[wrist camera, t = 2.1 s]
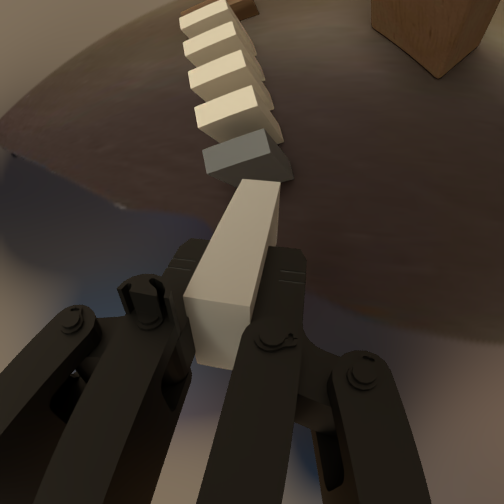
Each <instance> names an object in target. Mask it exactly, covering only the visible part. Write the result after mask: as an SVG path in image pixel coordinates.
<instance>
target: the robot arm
mask: <svg viewBox="0 0 504 504" xmlns="http://www.w3.org/2000/svg"><path fill="white" fill-rule="evenodd" d="M280 183H281V182H273V181H262V180H250V179H242V181H241V183H240V184H239V186H238V188H237V190H236V192H235V194H234V196H233V198H232V199H231V201H230V203H229V205H228V207H227V209H226V211H225V213H224V215H223V217H222V219H221V221H220V223H219V224H218V226H217V228H216V230H215V232H214V234H213V236H212V238H211V240H202V239H193V238H191V239H189V240H188V241H187V242H186V243H184V244H183V245H182V246H180V247H179V249H178V251H177V252H176V254H175V255H174V257H173V259H172V260H171V262H170V263H169V265H168V268H167V269H166V270H165V272H164V273H163V275H162V277H161V276H157V275H154V274H141V275H137V276H134V277H131V278H129V279H127V280H126V281H124V282H123V283H122V284H121V285H120V286H119V287H118V288H117V291H118V293H119V296H120V298H121V302H122V304H123V307H124V310H125V312H126V315H125V316H121V317H108V318H96V316H95V314H94V312H93V311H92V310H91V309H90V308H89V307H87V306H84V305H73V306H70V307H67V308H65V309H64V310H62V311H61V312H60V313H58V314H57V315H56V316H55V317H54V318H53V319H52V320H51V321H50V322H49V323H48V324H47V325H46V326H45V327H44V328H43V329H42V330H41V331H40V332H39V333H38V334H37V335H36V336H35V337H34V338H33V339H32V340H31V341H30V342H29V343H28V344H27V345H26V346H25V348H23V350H22V351H21V352H20V353H19V354H18V355H17V356H16V357H15V358H14V359H13V360H12V361H11V363H9V365H8V366H7V367H6V368H5V369H4V370H3V371H2V372H1V373H0V504H151V501H152V497H153V494H154V491H155V488H156V485H157V482H158V479H159V476H160V473H161V469H162V467H163V464H164V461H165V458H166V455H167V452H168V449H169V445H170V442H171V439H172V436H173V433H174V430H175V427H176V425H177V422H178V419H179V415H180V413H181V410H182V407H183V404H184V401H185V398H186V395H187V392H188V389H189V386H190V383H191V379H192V372H191V368H190V366H191V363H192V361H193V358H194V355H195V356H196V360H197V363H198V364H202V365H207V366H212V367H217V368H223V369H228V370H232V374H231V378H230V381H229V386H228V389H227V393H226V396H225V400H224V404H223V408H222V411H221V415H220V419H219V422H218V426H217V430H216V433H215V437H214V441H213V445H212V449H211V452H210V455H209V459H208V463H207V466H206V470H205V473H204V477H203V481H202V484H201V488H200V491H199V495H198V499H197V502H196V504H281V503H282V498H283V492H284V486H285V480H286V474H287V467H288V461H289V454H290V448H291V441H292V433H293V425H294V422H295V423H298V424H300V425H302V426H305V427H307V428H310V429H311V433H312V439H313V445H314V451H315V457H316V463H317V469H318V475H319V482H320V488H321V495H322V501H323V504H431V499H430V495H429V491H428V487H427V483H426V479H425V476H424V472H423V468H422V465H421V461H420V458H419V455H418V451H417V448H416V444H415V441H414V438H413V434H412V431H411V428H410V425H409V422H408V419H407V416H406V413H405V410H404V407H403V404H402V401H401V398H400V395H399V392H398V390H397V387H396V384H395V381H394V378H393V376H392V373H391V370H390V369H389V368H388V366H387V364H386V362H385V361H384V360H383V359H381V358H380V357H379V356H377V355H376V354H373V353H370V352H368V351H352V352H348V353H346V354H344V355H343V356H341V357H339V356H336V355H334V354H331V353H329V352H326V351H324V350H322V349H320V348H318V347H316V346H315V345H314V344H313V343H312V342H310V341H309V339H308V338H307V337H306V335H305V333H304V330H303V323H302V321H303V307H304V295H305V280H306V263H307V260H306V258H305V256H304V255H303V253H302V251H301V249H293V248H284V247H276V242H277V230H278V215H279V200H280ZM74 370H76V372H75V373H74V374H72V372H73V371H74Z"/></svg>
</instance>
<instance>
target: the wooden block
mask: <svg viewBox="0 0 504 504" xmlns="http://www.w3.org/2000/svg"><path fill="white" fill-rule="evenodd" d="M499 2H500V0H371V25H372V27H373V28H374V29H375V30H377V31H378V32H380V33H381V34H382V35H384V36H385V37H387V38H388V39H389V40H391V41H392V42H393V43H395V44H396V45H397V46H399V47H400V48H401V49H402V50H404V51H405V52H406V53H407V54H409V55H410V56H411V57H412V58H414V59H415V60H416V61H417V62H418V63H420V64H421V65H422V66H423V67H424V68H425V69H426V70H428V71H429V72H430V73H431V74H432V75H433V76H434V77H436V78H437V79H438V78H441V77H442V76H443V75H444V74H446V73H447V72H448V71H449V70H450V69H451V68H453V67H454V66H455V65H456V64H457V63H458V62H460V61H461V60H462V59H463V58H464V57H465V56H467V55H468V54H469V53H470V52H471V51H472V50H474V49H475V48H476V47H477V46H478V45H479V43H480V41H481V40H482V38H483V36H484V34H485V32H486V30H487V28H488V25H489V23H490V21H491V19H492V17H493V15H494V13H495V11H496V9H497V6H498V4H499Z"/></svg>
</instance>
